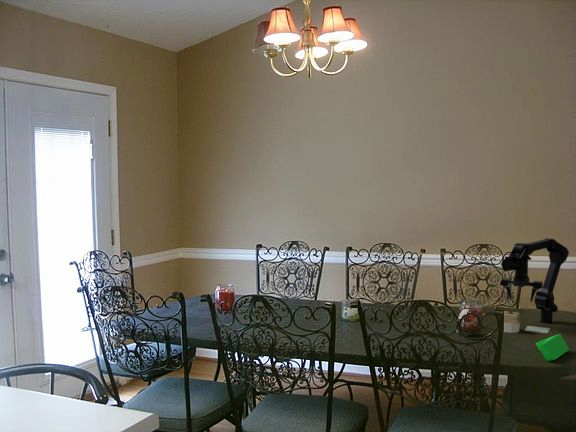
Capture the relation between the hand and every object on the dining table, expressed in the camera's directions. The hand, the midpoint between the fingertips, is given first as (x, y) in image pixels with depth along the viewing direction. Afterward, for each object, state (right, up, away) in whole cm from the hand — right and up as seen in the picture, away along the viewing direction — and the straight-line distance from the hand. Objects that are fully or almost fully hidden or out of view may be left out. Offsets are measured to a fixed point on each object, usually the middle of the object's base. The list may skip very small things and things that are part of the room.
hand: (521, 301), depth 279 cm
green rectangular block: (-8, -16, -44) cm, 48 cm away
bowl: (-9, -13, -8) cm, 18 cm away
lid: (-9, -9, -8) cm, 15 cm away
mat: (+5, -13, -7) cm, 15 cm away
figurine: (-31, -14, -13) cm, 37 cm away
